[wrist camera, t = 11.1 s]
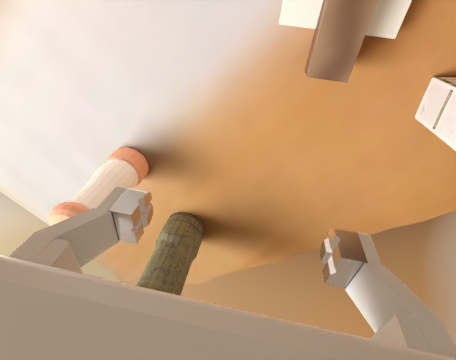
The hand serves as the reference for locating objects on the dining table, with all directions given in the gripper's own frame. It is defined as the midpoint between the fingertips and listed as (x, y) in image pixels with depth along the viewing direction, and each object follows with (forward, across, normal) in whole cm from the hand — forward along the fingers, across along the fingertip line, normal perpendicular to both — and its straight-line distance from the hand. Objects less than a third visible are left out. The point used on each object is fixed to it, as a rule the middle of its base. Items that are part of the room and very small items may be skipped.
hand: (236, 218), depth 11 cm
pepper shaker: (+29, +23, +20) cm, 42 cm away
